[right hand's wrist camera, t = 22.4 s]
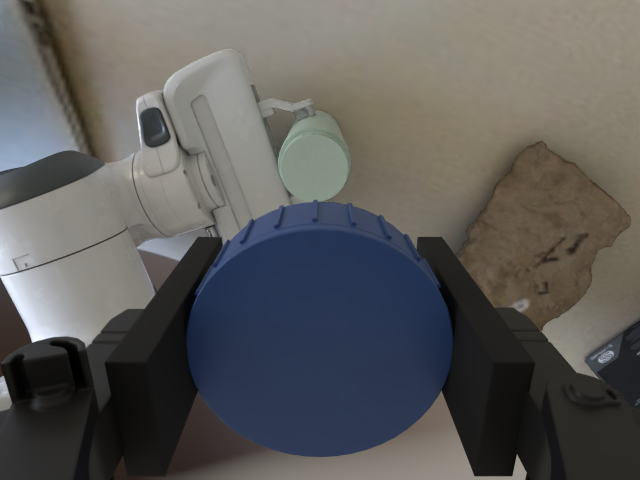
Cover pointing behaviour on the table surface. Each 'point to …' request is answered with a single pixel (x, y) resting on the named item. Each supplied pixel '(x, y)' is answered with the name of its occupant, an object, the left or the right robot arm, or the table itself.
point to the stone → (540, 236)
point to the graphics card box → (620, 364)
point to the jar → (314, 158)
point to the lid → (319, 331)
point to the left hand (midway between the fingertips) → (324, 141)
